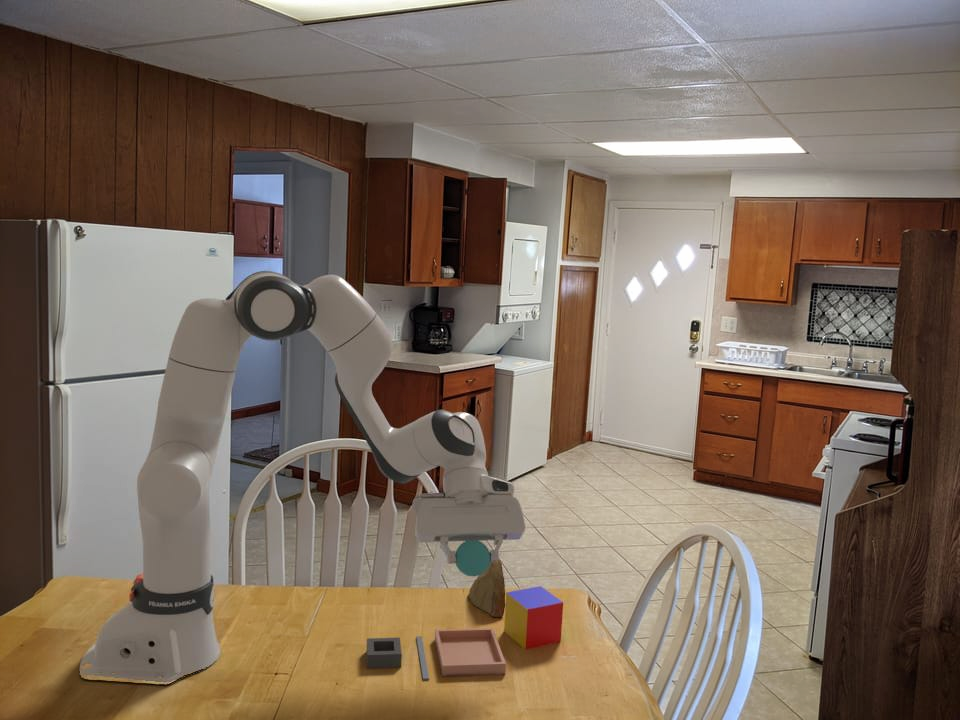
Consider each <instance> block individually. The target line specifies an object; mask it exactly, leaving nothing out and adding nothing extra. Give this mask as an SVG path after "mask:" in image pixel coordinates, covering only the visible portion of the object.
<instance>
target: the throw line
mask: <svg viewBox="0 0 960 720" xmlns="http://www.w3.org/2000/svg"><path fill="white" fill-rule="evenodd" d="M415 638H416V644H417V650H418V657H419V661H420V662H419V663H420V664H419V665H420V668H421V677H422V680H423V681H429V680H430V676H429V671H428V666H427V659H426V652H425V648H424V642H423V641H424V640H423V637H422V636H421V635H420V636H416V637H415Z"/></svg>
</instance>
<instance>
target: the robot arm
mask: <svg viewBox="0 0 960 720" xmlns="http://www.w3.org/2000/svg"><path fill="white" fill-rule="evenodd" d="M367 301H368V300H367ZM367 301H366V299H365V297H363V296H362V295H361V294H360V293H359V292H358V291H357V289H355V287H353V286H352V285H351V284H350V283H349V282H348V281H346V280H345V278H342V277H341V276H339V275H336V274H326V275H321V276H319V277H317V278H315V279H313V280H312V281H310V282H308V284H304V285H302V284H298V283H296V282H295V281H292V280H291V278H289V277H287V276H285V274H283V273H282V274H281V273H279V272H276V271H272V270H260V271H256V272H253V273H252V274H250V275H248V276H247V277H245V278H244V279H243V280H242V281H241V282H240V283H239V284H238V285H237V286H236V288H235V289H233V290H232V292H230V293H229V294H228V295H227V296H226V297H225V299H219V298H218V299H217V298H207V297H206V298H200V299H197V300H193V301H192V302H190V303H189V304H188V305H187V306H186V308H185V310H184V312H183V315H182V317H181V318H180V321H179V323H178V326H177V328H176V331H175V333H174V336H173V340H172V344H171V347H170V350H169V355H168V358H167V363H166V368H165V371H164V375H163V379H162V384H161V389H160V392H159V398H158V402H157V411H156V418H155V423H154V428H153V434H152V439H151V444H150V448H149V452H148V454H147V456H146V459H145V461H144V463H143V464H142V467H141V469H140V470H139V472H138V475H137V479H136V490H137V503H138V505H137V506H138V517H139V523H140V529H141V538H142V573H139V574H138V575H137V576H136V577H135V579H134V580H133V585H132V586H131V589H130V593H129V603H128V604H126V605H125V606H124V607H122V608H121V609H120V610H118V611H117V612H115V613H114V614H112V615H111V616H110V617H109V618H107V620H106V621H105V622H104V623H103V625H102V626H101V628H100V630H99V631H98V635H97V638H96V641H95V643H94V644H92V646H90V647H89V649H88V650H87V651H86V653H84V655H83V657H82V659H81V660H80V664H79V671H81V673H82V674H83V675H94V676H103V677H114V678H124V679H125V678H127V679H134V680H145V681H155V682H164V683H165V682H171V681H173V680H175V679H177V678H179V677H181V676H182V675H185V674H188V673H190V672H194V671H198V670H201V669H203V670H205V669H207V668H208V667H210V666H211V665H213V664H214V663H215V662H216V661H217V660H218V658H220V655H221V647H220V645H219V641H218V639H217V634H216V630H215V623H214V617H213V608H214V606H215V585H214V576H213V575H212V532H211V531H212V530H211V519H210V518H211V516H210V485H211V478H212V475H213V470H214V467H215V466H214V465H215V461H216V457H217V452H218V448H219V446H220V445H219V444H220V442H221V441H220V440H221V437H222V432H223V427H224V424H225V420H226V416H227V411H228V407H229V402H230V399H231V394H232V389H233V385H234V381H235V377H236V373H237V368H238V363H239V359H240V356H241V352H242V349H243V347H244V345H245V343H246V342H247V341H248V340H249V339H251V338H252V337H253V336H254V337H255V338H257V339H260V340H265V341H279V340H283V339H287V338H289V337H292V336H293V335H296V334H299V333H302V332H304V331H308V332H309V333H311V334H312V335H313V336H314V337H315V338H316V339H317V341H318V342H320V344H321V346H322V347H323V348H324V349H325V351H326V352H327V353H328V355H329V356H330V358H331V359H332V361H333V364H334V366H335V370H336V373H335V375H334V376H335V377H334V384H335V387H336V390H337V392H338V394H339V397H340V398H341V400H342V402H343V404H344V405H345V408H346V409H347V411H348V413H349V414H350V416H351V418H352V419H353V421H354V423H355V424H356V426H357V428H358V430H359V431H360V433H361V434H362V437H363V438H364V439H365V441H366V443H367V445H368V447H369V448H370V450H371V453H372V455H373V458H374V461H375V464H376V465H377V467H378V469H379V471H380V472H381V474H383V476H384V477H385V478H388V479H389V480H391V481H392V482H395V483H398V484H406V483H409V482H411V481H413V480H414V479H415V478H418V477H419V476H421V475H422V474H424V473H426V472H428V471H431V470H432V469H435V468H437V467H441V468H443V474H442V485H443V486H442V487H443V492H432V493H428V492H422V493H420V495H419V494H418V495H416V496H415V497H414V498H413V500H412V510H413V513H414V515H416V519H415V520H416V521H415V532H414V534H415V538H416V540H417V541H418V542H419V543H439V548H440V550H441V551H442V552H443V554H444V555H445V556H446V563H447V564H448V565H449V564H451V565H453V564H455V565H456V551H457V550H451V549H450V547H449V546H448V545H449V543H450V542H465V541H468V540H478V541H480V542H482V541H493V545H494V546H495V548H494V549H490V550H489V552H490V562H498V561H499V560H500V554H499V551H500V550H501V547H502V544H503V542H504V541H510V540H515V541H516V540H517V541H518V540H520V539H521V538H523V535H524V534H525V531H526V523H525V516H524V513H523V509H522V506H521V503H520V501H519V500H518V498H517V497H516V496H515V485H514V484H513V483H512V482H510V481H506V480H501V479H499V478H495V477H492V476H489V473H488V470H487V468H486V462H487V450H486V449H487V448H486V443H485V438H484V434H483V430H482V427H481V424H480V422H479V420H478V419H477V418H476V417H475V416H474V415H473V414H471V413H467V412H462V411H458V412H451V411H448V410H445V409H437V410H435V411H432V412H430V413H427V414H426V415H423V416H421V417H419V418H417V419H416V420H414V421H413V422H410V423H408V424H406V425H404V426H402V427H399V428H397V427H396V428H395V427H393V426H391V424H390V423H389V422H388V420H387V419H386V416H385V414H384V413H383V411H382V409H381V408H380V406H379V404H378V402H377V401H376V398H375V397H374V395H373V391H372V388H373V387H372V386H373V384H374V382H375V381H376V379H377V378H378V377H379V376H380V374H381V373H382V372H383V370H384V369H385V367H386V366H387V364H388V362H389V360H390V357H391V355H392V349H393V338H392V336H391V333H390V331H389V329H388V327H387V326H386V324H385V323H384V321H383V320H382V319H381V317H380V316H379V315H378V314H377V313H376V311H375V310H374V308H373V307H372V306H371V304H369V303H368V302H367ZM85 664H92V666H91V667H90V668H87V669H82V668H81V666H83V665H85ZM206 667H207V668H206ZM201 671H202V670H201ZM198 672H199V671H198ZM98 673H100V674H98ZM112 673H115V674H112ZM159 676H161V677H162V678H157V677H159Z"/></svg>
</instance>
